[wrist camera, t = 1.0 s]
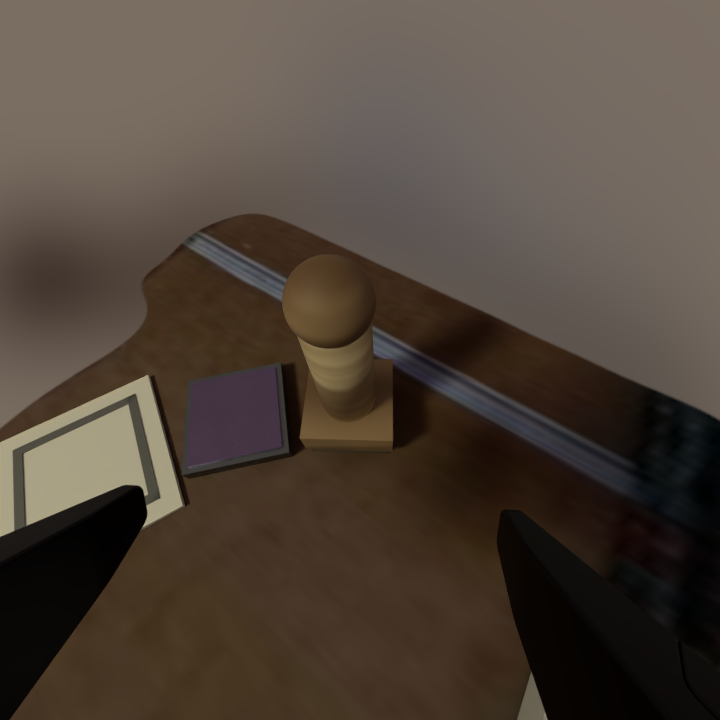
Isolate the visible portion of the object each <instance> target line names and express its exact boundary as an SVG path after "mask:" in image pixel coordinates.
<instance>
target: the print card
mask: <svg viewBox="0 0 720 720" xmlns="http://www.w3.org/2000/svg"><path fill="white" fill-rule="evenodd" d="M122 485H138V486H140V487H142V489H143V491H144V496H145V501H146V506H147V512H148V513H147V519H146V522H145V524H144V525H143V527H142V529H141V530H143V529H145V528H147V527H148V526H150V525H152V524H154V523H156V522H158V521H159V520H161V519H163V518H165V517H167V516H169V515H170V514H172V513H174V512H176V511H178V510H179V509H181V508H183V507H185V504H184V500H183V497H182V493H181V489H180V485H179V482H178V478H177V474H176V471H175V467H174V463H173V460H172V456H171V452H170V448H169V445H168V441H167V437H166V434H165V430H164V426H163V423H162V419H161V415H160V411H159V408H158V404H157V400H156V397H155V393H154V389H153V386H152V382H151V378H150V376H149V375H147V376H145V377H142V378H140V379H138V380H136V381H134V382H132V383H129V384H127V385H125V386H123V387H121V388H118V389H116V390H114V391H112V392H110V393H107V394H105V395H103V396H101V397H99V398H96V399H94V400H92V401H90V402H88V403H86V404H83V405H81V406H79V407H77V408H75V409H72V410H70V411H68V412H66V413H64V414H61V415H59V416H57V417H55V418H53V419H51V420H48V421H46V422H44V423H42V424H40V425H37V426H35V427H33V428H31V429H29V430H26V431H24V432H22V433H20V434H18V435H15V436H13V437H11V438H9V439H7V440H5V441H2V442H0V537H1V536H3V535H6V534H8V533H10V532H13V531H15V530H18V529H20V528H22V527H25V526H27V525H29V524H32V523H34V522H37V521H39V520H41V519H44V518H46V517H48V516H51V515H53V514H56V513H58V512H60V511H63V510H65V509H68V508H70V507H72V506H75V505H77V504H79V503H82V502H84V501H87V500H89V499H91V498H94V497H96V496H98V495H101V494H103V493H106V492H108V491H110V490H113V489H115V488H118V487H120V486H122ZM141 530H140V531H141Z"/></svg>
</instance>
